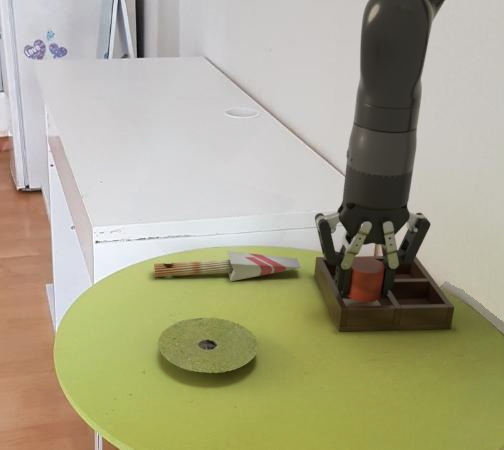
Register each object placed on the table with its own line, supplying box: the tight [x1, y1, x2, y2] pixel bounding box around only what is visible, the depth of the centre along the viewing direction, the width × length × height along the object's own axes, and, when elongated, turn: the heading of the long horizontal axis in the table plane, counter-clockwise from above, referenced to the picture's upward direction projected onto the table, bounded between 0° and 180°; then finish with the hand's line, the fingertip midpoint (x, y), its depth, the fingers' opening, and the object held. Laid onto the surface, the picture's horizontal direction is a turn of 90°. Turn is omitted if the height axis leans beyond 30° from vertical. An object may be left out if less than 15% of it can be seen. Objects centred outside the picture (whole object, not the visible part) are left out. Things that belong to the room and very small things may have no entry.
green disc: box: [157, 317, 259, 374], centre depth 85 cm, size 11×11×2 cm
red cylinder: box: [347, 256, 385, 302], centre depth 93 cm, size 4×4×4 cm
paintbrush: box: [153, 250, 302, 282], centre depth 103 cm, size 4×3×20 cm
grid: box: [313, 255, 455, 332], centre depth 97 cm, size 14×14×3 cm
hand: (363, 291), depth 93 cm, fingers closed on red cylinder, 4 cm apart
